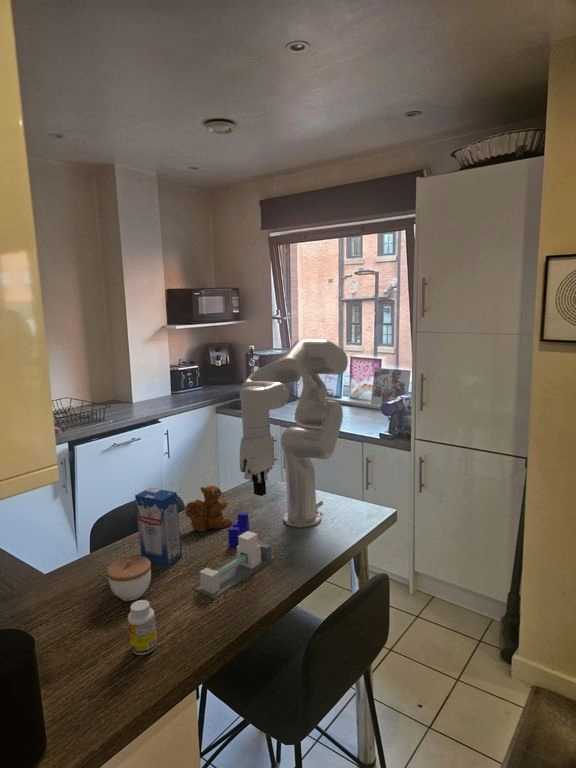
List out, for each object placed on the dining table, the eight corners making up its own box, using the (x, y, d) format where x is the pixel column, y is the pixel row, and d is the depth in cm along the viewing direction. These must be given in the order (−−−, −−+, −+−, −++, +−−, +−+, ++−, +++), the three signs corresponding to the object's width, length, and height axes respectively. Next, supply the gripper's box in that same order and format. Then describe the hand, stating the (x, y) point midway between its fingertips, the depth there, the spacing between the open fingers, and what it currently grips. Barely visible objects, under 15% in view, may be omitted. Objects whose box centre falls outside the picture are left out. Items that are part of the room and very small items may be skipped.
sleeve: (247, 557, 148) (245, 530, 146) (261, 562, 145) (259, 534, 143) (237, 563, 145) (236, 535, 143) (251, 569, 141) (249, 540, 140)
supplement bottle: (132, 641, 115) (127, 599, 113) (158, 637, 116) (154, 595, 114) (129, 658, 109) (125, 614, 108) (156, 653, 110) (152, 610, 109)
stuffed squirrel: (235, 524, 171) (232, 486, 169) (198, 538, 162) (194, 499, 160) (218, 515, 179) (215, 479, 176) (182, 528, 170) (178, 490, 167)
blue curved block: (235, 529, 167) (234, 512, 166) (249, 530, 167) (248, 512, 166) (224, 547, 156) (223, 529, 155) (239, 548, 155) (237, 529, 154)
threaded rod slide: (256, 551, 152) (255, 534, 151) (275, 558, 148) (274, 541, 147) (195, 589, 134) (193, 571, 133) (214, 598, 129) (213, 579, 129)
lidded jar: (109, 588, 136) (105, 555, 135) (151, 578, 140) (147, 546, 138) (110, 610, 127) (106, 575, 125) (155, 599, 130) (152, 565, 129)
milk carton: (141, 560, 150) (134, 495, 147) (156, 550, 156) (150, 487, 152) (168, 567, 146) (162, 500, 142) (182, 557, 151) (176, 492, 147)
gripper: (263, 423, 151) (267, 483, 154) (227, 435, 139) (231, 500, 142) (283, 426, 146) (286, 488, 149) (248, 439, 135) (252, 506, 138)
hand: (260, 494), depth 146 cm, fingers closed
